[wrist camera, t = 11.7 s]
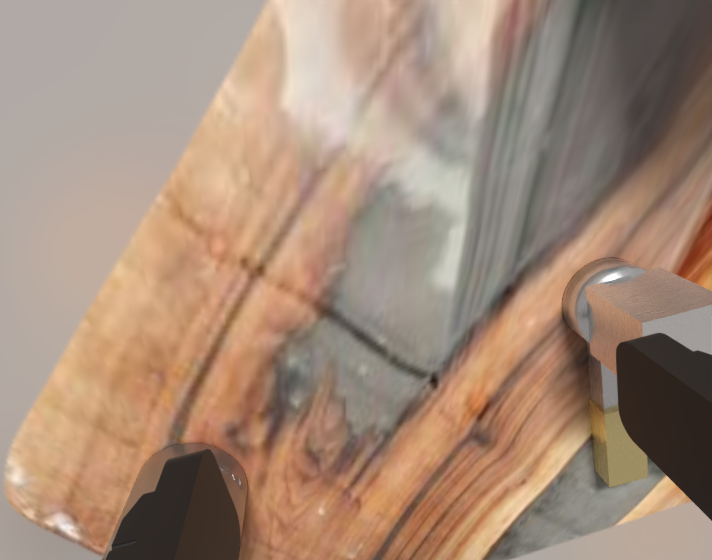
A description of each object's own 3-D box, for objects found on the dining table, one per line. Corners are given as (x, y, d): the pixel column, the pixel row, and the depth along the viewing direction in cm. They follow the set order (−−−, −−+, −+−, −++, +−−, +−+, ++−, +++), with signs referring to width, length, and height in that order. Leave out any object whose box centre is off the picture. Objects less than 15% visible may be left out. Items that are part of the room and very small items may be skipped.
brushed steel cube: (660, 334, 40) (728, 377, 33) (590, 353, 39) (644, 400, 33) (659, 267, 38) (730, 299, 31) (585, 286, 37) (642, 323, 31)
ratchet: (648, 454, 48) (709, 516, 40) (577, 473, 47) (626, 538, 40) (641, 248, 40) (714, 278, 33) (558, 269, 40) (613, 305, 33)
